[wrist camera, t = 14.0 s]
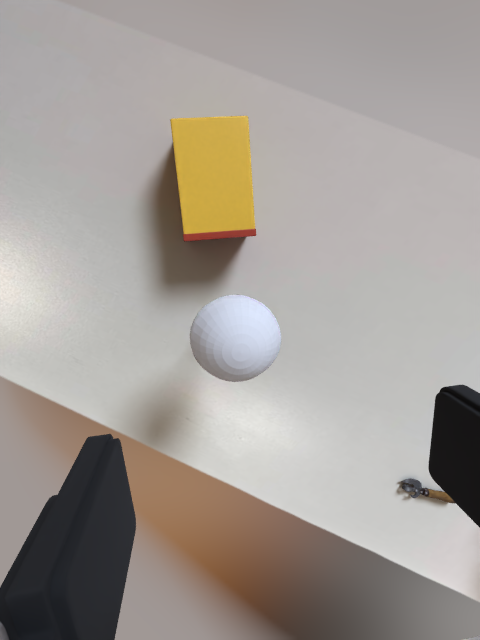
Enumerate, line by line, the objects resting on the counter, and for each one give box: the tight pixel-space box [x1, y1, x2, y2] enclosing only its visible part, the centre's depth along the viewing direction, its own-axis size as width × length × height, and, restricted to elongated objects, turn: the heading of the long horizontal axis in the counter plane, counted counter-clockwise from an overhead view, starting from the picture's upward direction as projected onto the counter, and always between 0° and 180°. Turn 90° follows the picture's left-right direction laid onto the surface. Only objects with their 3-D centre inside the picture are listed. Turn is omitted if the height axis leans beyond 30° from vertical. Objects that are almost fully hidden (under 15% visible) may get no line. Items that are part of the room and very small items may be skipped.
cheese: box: [170, 116, 256, 241], centre depth 28 cm, size 9×6×5 cm
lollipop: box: [190, 295, 281, 382], centre depth 26 cm, size 6×6×15 cm
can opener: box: [401, 479, 455, 503], centre depth 43 cm, size 9×2×1 cm, turn 64°
